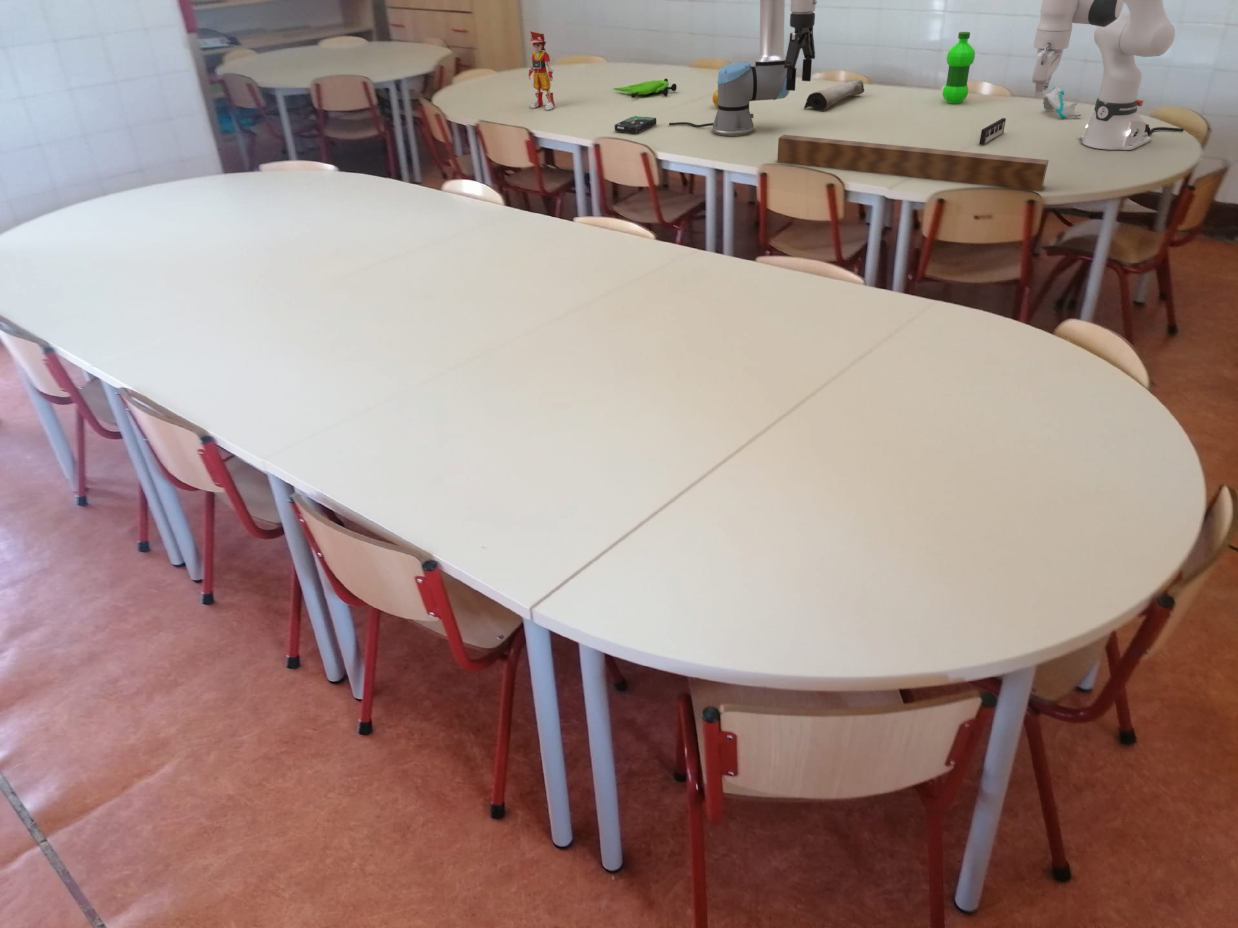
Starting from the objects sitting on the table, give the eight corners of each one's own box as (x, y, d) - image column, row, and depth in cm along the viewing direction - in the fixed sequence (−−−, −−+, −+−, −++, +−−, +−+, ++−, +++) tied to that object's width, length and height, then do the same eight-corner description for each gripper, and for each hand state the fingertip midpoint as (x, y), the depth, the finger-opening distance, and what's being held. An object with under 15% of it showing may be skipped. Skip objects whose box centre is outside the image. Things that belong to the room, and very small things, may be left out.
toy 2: (686, 85, 398) (631, 84, 414) (685, 72, 395) (629, 72, 411) (651, 104, 381) (596, 103, 397) (650, 92, 378) (594, 91, 394)
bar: (777, 162, 302) (778, 138, 298) (782, 158, 305) (783, 134, 301) (1040, 191, 266) (1046, 164, 261) (1042, 186, 269) (1048, 160, 264)
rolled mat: (839, 85, 375) (856, 69, 367) (851, 103, 375) (868, 87, 367) (800, 103, 358) (817, 87, 350) (813, 122, 358) (830, 107, 350)
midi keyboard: (982, 145, 305) (985, 130, 303) (979, 144, 306) (981, 129, 303) (1003, 133, 316) (1006, 118, 313) (999, 132, 317) (1002, 118, 314)
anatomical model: (1037, 86, 333) (1064, 79, 332) (1036, 115, 339) (1062, 107, 338) (1056, 96, 321) (1084, 88, 320) (1055, 125, 327) (1082, 118, 326)
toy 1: (525, 109, 381) (517, 32, 364) (534, 104, 388) (527, 28, 371) (550, 110, 377) (543, 32, 360) (559, 105, 384) (553, 28, 367)
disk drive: (637, 135, 339) (656, 124, 349) (637, 127, 338) (656, 117, 348) (614, 132, 344) (634, 122, 354) (613, 125, 343) (633, 115, 353)
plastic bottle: (973, 101, 354) (984, 32, 339) (955, 106, 349) (966, 36, 335) (952, 97, 361) (962, 29, 346) (934, 102, 356) (944, 33, 342)
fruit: (706, 100, 364) (717, 82, 360) (712, 103, 371) (722, 85, 368) (723, 111, 362) (734, 93, 359) (728, 114, 370) (739, 96, 367)
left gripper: (799, 19, 265) (795, 95, 277) (828, 6, 282) (823, 78, 295) (775, 19, 269) (772, 93, 281) (805, 5, 286) (801, 76, 298)
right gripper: (1057, 48, 238) (1046, 102, 246) (1070, 34, 252) (1058, 86, 260) (1032, 47, 240) (1022, 101, 248) (1046, 33, 255) (1035, 85, 262)
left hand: (798, 85), depth 288 cm, fingers open, 13 cm apart
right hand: (1040, 93), depth 254 cm, fingers open, 8 cm apart
